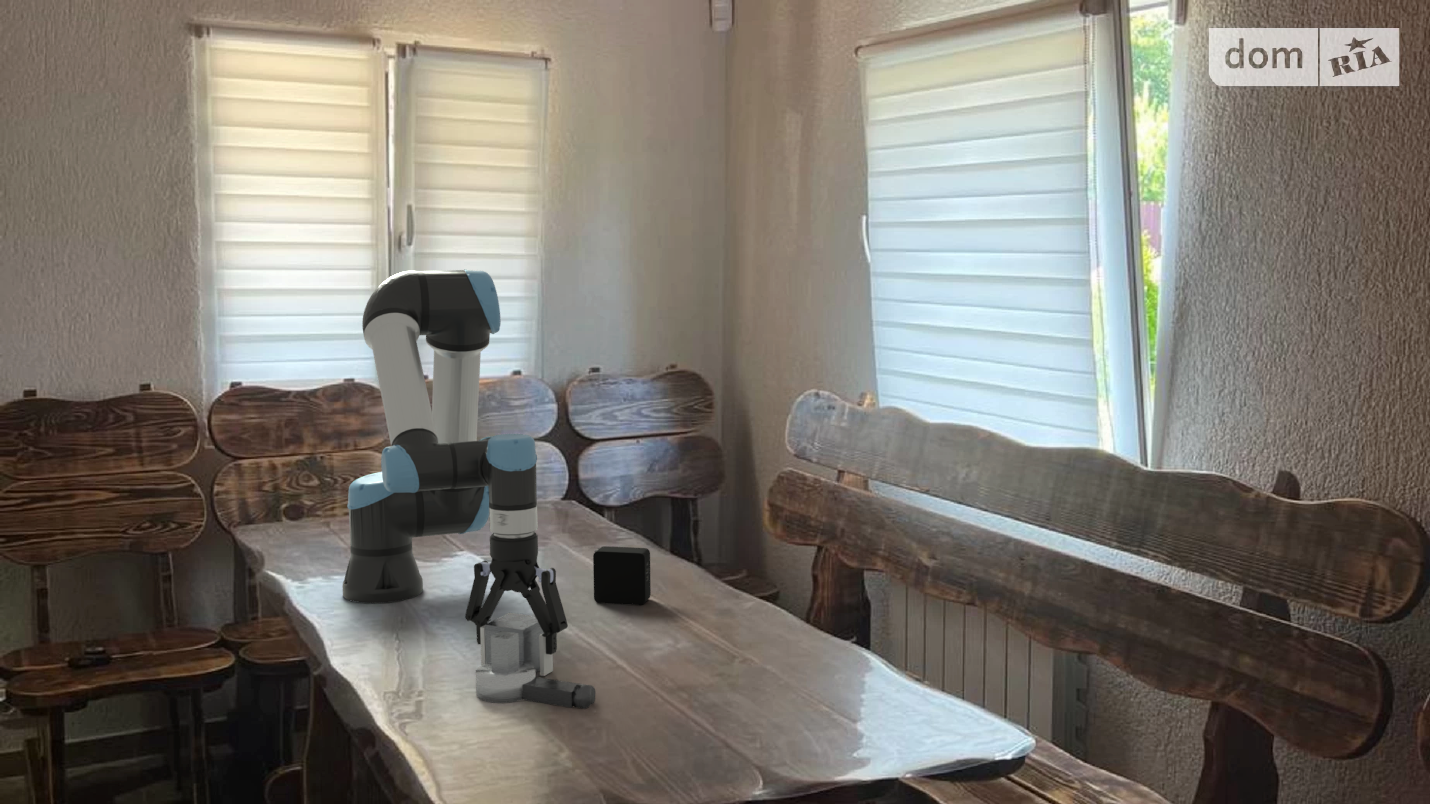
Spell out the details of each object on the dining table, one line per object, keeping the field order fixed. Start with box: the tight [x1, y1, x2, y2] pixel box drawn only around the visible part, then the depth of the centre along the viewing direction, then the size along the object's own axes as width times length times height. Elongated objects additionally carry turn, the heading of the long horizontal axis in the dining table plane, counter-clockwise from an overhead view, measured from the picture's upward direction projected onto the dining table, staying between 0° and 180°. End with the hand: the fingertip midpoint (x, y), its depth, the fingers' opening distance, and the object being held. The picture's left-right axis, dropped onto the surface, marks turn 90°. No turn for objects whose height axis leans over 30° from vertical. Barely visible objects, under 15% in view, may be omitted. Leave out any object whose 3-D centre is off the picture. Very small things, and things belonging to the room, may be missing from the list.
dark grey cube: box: [485, 612, 544, 673], centre depth 208 cm, size 7×7×8 cm
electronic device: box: [592, 545, 652, 606], centre depth 247 cm, size 4×10×10 cm, turn 78°
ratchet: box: [474, 631, 596, 710], centre depth 196 cm, size 19×9×10 cm, turn 66°
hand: (516, 668), depth 209 cm, fingers open, 10 cm apart
